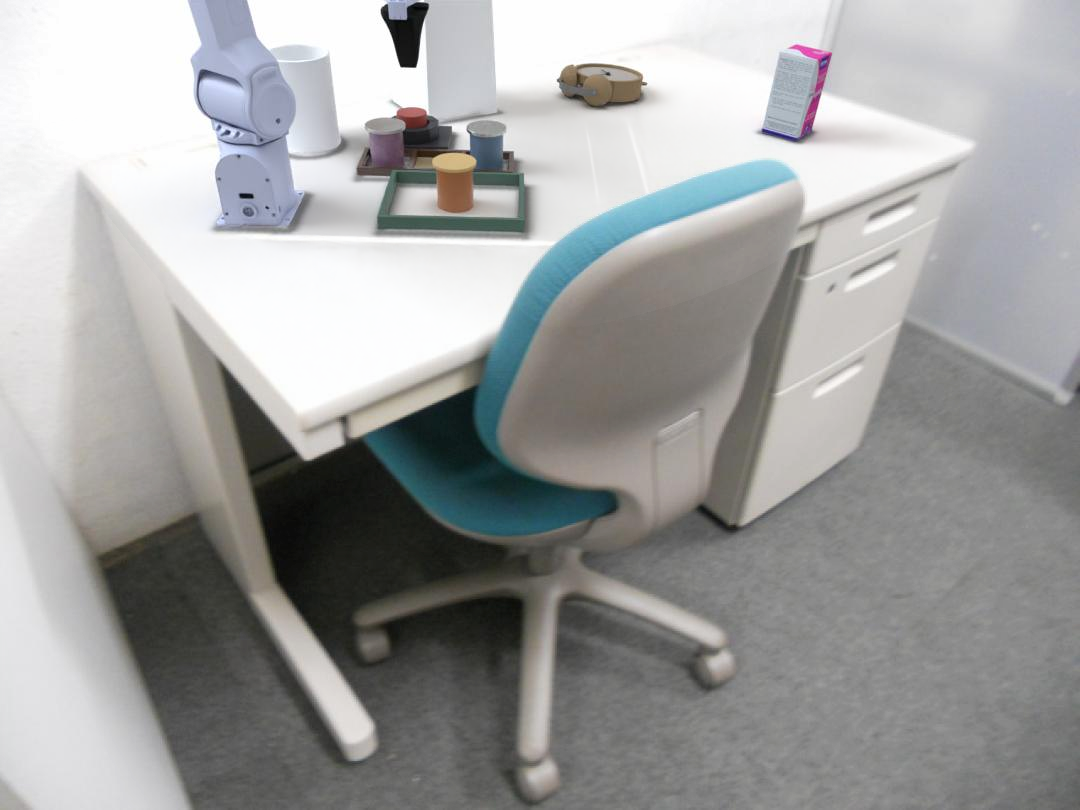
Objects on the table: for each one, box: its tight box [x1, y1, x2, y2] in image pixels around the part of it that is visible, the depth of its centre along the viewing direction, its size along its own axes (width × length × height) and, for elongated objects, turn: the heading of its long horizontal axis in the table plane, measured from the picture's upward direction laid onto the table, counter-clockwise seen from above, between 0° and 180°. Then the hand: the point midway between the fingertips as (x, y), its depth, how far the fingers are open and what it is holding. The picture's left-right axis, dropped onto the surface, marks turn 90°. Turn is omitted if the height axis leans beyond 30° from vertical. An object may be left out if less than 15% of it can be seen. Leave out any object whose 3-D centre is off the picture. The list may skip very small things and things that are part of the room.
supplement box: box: [760, 43, 833, 142], centre depth 118 cm, size 6×6×12 cm
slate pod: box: [465, 119, 507, 170], centre depth 104 cm, size 5×5×5 cm
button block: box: [390, 114, 453, 150], centre depth 111 cm, size 10×8×3 cm
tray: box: [376, 170, 525, 233], centre depth 96 cm, size 13×16×2 cm
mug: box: [267, 43, 342, 155], centre depth 108 cm, size 12×8×12 cm
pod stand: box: [356, 146, 515, 177], centre depth 105 cm, size 7×20×2 cm, turn 91°
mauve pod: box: [364, 117, 406, 167], centre depth 104 cm, size 5×5×5 cm
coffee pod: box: [432, 153, 476, 214], centre depth 95 cm, size 5×5×5 cm
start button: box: [396, 107, 427, 128], centre depth 110 cm, size 4×4×2 cm
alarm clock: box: [556, 62, 648, 107], centre depth 130 cm, size 11×5×15 cm
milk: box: [390, 0, 498, 121], centre depth 117 cm, size 12×12×26 cm
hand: (408, 66), depth 106 cm, fingers closed
